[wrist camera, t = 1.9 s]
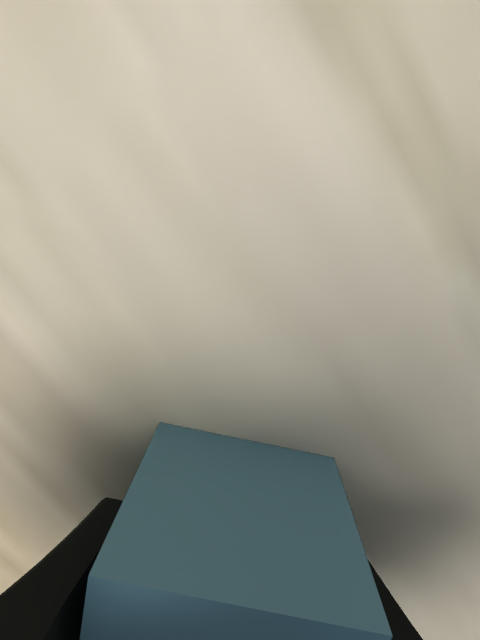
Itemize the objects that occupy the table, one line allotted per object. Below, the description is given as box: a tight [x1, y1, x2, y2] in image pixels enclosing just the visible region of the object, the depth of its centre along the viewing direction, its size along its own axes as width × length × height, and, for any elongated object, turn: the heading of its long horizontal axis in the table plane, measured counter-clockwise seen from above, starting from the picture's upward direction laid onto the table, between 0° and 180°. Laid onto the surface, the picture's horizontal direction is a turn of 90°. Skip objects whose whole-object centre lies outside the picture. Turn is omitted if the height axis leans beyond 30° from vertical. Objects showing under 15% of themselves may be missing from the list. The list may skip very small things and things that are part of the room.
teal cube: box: [80, 422, 393, 640], centre depth 9 cm, size 5×5×5 cm
